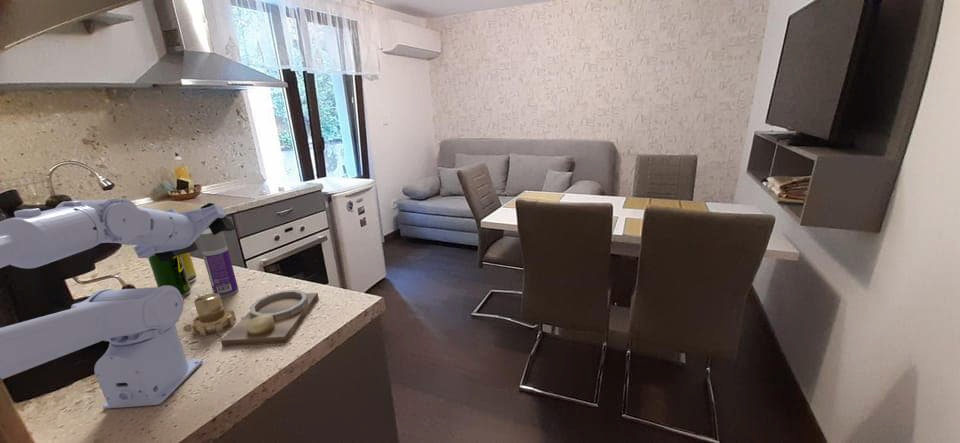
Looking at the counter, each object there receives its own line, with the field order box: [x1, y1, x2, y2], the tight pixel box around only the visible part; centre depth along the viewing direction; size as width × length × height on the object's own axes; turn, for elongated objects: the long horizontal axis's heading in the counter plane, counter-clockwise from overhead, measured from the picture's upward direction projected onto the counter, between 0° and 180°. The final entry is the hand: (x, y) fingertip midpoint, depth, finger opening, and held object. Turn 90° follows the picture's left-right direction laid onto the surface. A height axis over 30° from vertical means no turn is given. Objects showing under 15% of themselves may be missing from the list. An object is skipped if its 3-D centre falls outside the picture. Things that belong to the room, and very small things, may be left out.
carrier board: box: [220, 289, 319, 347], centre depth 73 cm, size 16×11×3 cm
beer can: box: [147, 254, 192, 298], centre depth 82 cm, size 5×5×12 cm
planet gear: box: [190, 293, 236, 337], centre depth 71 cm, size 7×7×6 cm
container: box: [197, 227, 239, 298], centre depth 82 cm, size 5×5×15 cm
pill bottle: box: [181, 252, 197, 284], centre depth 89 cm, size 6×6×12 cm
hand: (213, 235), depth 71 cm, fingers open, 7 cm apart
